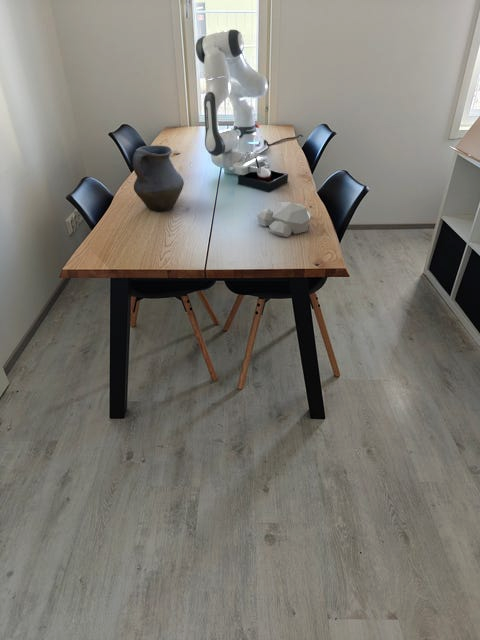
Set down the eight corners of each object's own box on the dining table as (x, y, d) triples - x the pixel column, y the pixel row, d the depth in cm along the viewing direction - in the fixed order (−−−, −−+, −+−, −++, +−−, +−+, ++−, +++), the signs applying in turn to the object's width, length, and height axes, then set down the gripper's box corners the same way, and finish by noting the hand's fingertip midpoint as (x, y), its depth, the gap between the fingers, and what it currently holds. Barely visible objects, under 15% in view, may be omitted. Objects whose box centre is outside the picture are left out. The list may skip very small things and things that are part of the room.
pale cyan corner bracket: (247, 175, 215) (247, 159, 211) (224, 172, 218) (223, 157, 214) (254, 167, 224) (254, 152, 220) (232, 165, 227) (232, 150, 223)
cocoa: (271, 180, 208) (274, 154, 200) (272, 185, 203) (276, 159, 195) (251, 178, 207) (254, 153, 199) (252, 184, 202) (255, 158, 194)
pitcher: (195, 203, 187) (191, 142, 172) (163, 222, 172) (155, 157, 157) (157, 194, 196) (150, 135, 181) (124, 211, 181) (113, 149, 166)
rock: (283, 242, 157) (284, 217, 151) (249, 224, 170) (249, 200, 164) (319, 229, 166) (322, 205, 160) (285, 212, 179) (286, 189, 173)
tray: (257, 175, 215) (257, 166, 213) (287, 182, 207) (288, 173, 204) (237, 184, 206) (237, 175, 203) (268, 192, 197) (269, 183, 194)
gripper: (226, 161, 200) (251, 167, 193) (253, 150, 212) (276, 155, 206) (227, 175, 203) (250, 181, 197) (253, 164, 216) (276, 169, 209)
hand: (264, 168), depth 201 cm, fingers open, 5 cm apart
